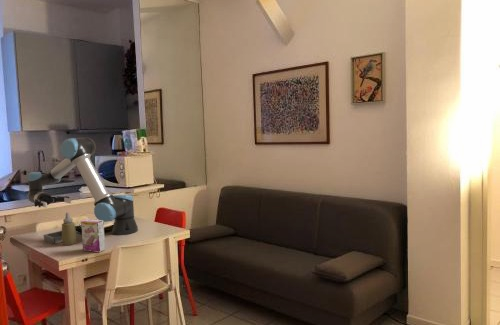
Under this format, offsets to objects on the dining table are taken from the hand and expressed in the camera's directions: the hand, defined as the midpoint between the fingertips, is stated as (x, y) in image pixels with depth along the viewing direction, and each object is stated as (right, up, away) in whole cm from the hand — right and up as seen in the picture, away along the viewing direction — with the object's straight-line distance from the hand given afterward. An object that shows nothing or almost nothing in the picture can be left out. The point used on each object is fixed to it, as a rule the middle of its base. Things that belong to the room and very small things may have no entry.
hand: (58, 203), depth 244 cm
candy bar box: (+28, -24, -18) cm, 41 cm away
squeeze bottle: (+8, -23, -4) cm, 25 cm away
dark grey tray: (-1, -22, +4) cm, 23 cm away
